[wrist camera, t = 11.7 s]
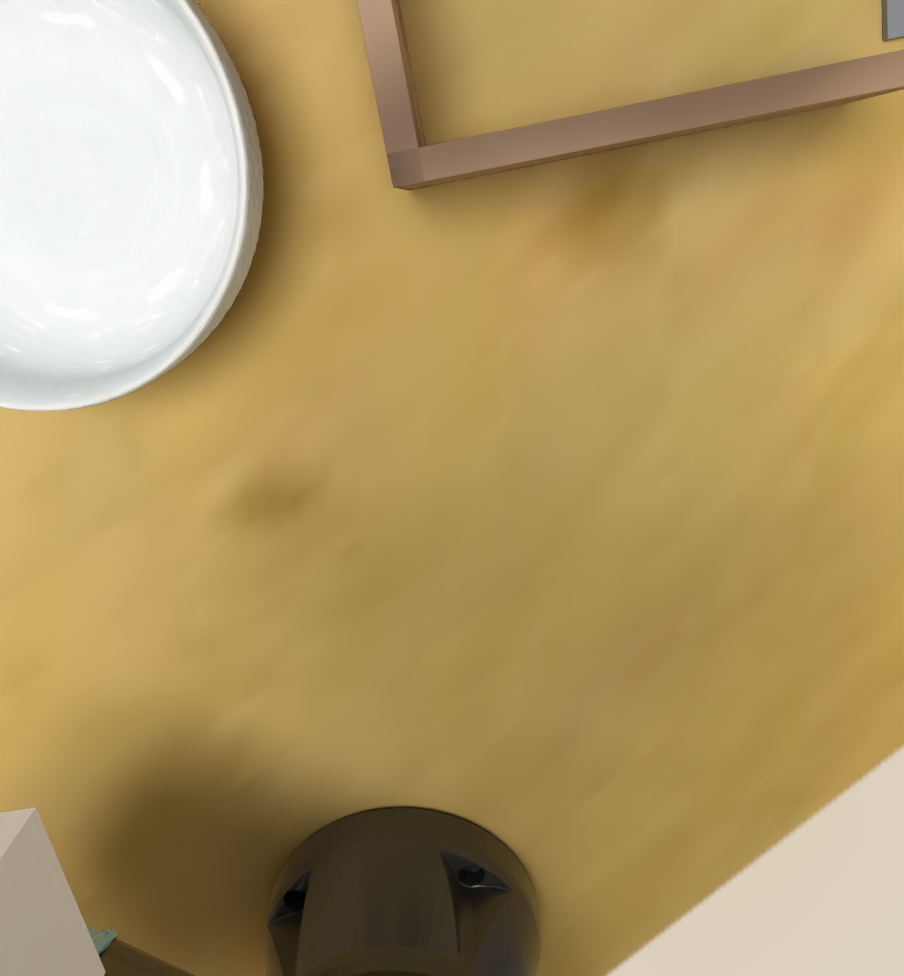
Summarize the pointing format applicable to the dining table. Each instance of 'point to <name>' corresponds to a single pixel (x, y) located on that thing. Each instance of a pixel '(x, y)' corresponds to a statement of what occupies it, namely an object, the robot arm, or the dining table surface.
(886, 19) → the grey mat
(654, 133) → the open-sided crate
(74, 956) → the robot arm
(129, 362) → the cereal bowl
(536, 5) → the dining table surface
